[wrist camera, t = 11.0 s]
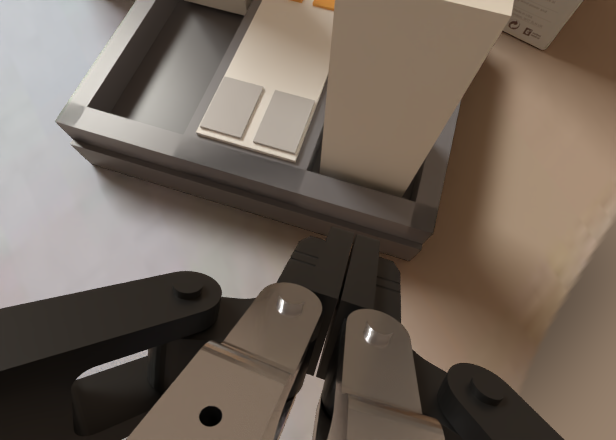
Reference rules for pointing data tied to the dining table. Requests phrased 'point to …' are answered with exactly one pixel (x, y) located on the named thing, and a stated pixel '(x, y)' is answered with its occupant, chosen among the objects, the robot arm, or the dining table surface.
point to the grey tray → (239, 118)
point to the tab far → (226, 5)
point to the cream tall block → (399, 82)
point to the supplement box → (539, 20)
